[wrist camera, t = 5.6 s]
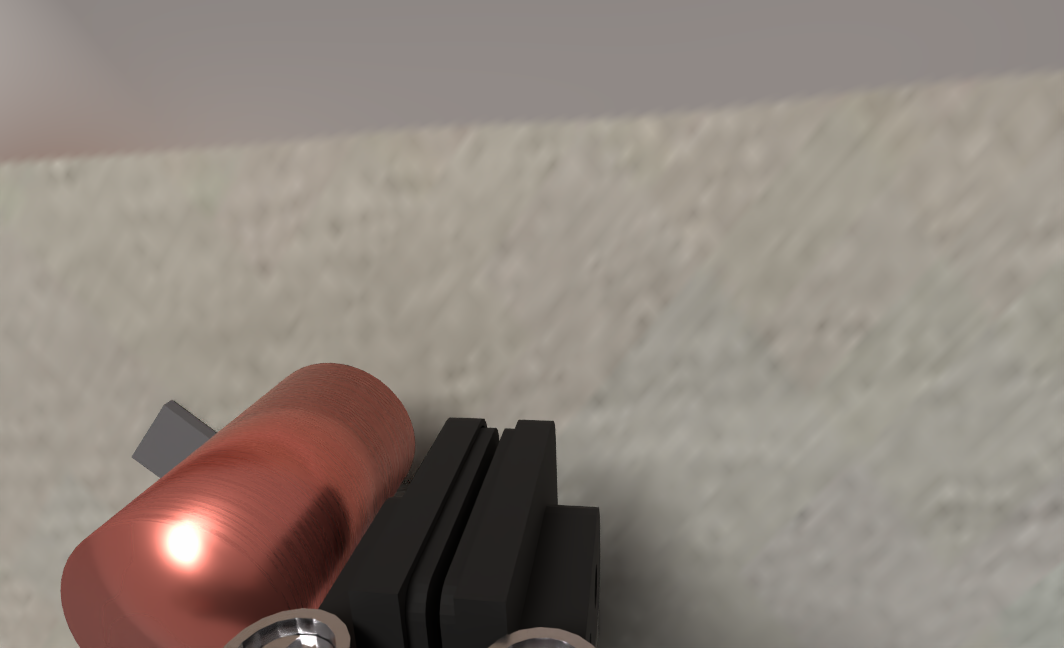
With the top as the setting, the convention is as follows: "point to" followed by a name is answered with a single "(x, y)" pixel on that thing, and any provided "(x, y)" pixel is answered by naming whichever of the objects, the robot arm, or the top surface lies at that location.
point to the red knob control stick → (245, 518)
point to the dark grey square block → (171, 439)
